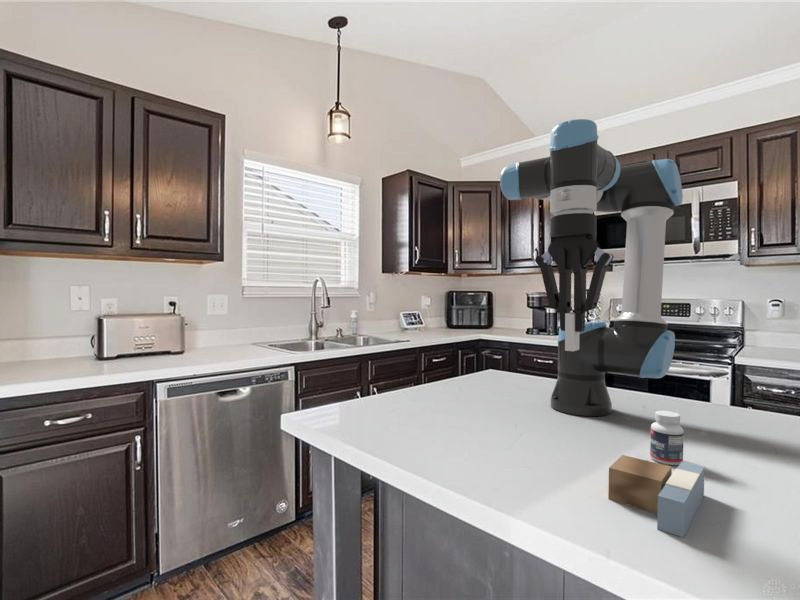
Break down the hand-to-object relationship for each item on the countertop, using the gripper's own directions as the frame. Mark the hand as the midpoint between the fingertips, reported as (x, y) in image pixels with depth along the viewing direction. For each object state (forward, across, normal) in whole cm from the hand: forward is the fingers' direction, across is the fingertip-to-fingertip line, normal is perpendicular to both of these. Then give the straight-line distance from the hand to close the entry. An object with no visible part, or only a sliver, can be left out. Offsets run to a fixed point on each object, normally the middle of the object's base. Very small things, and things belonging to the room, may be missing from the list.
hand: (572, 349), depth 77 cm
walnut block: (+21, +12, -4) cm, 25 cm away
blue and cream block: (+21, +18, -4) cm, 28 cm away
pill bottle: (+22, +12, +16) cm, 30 cm away
